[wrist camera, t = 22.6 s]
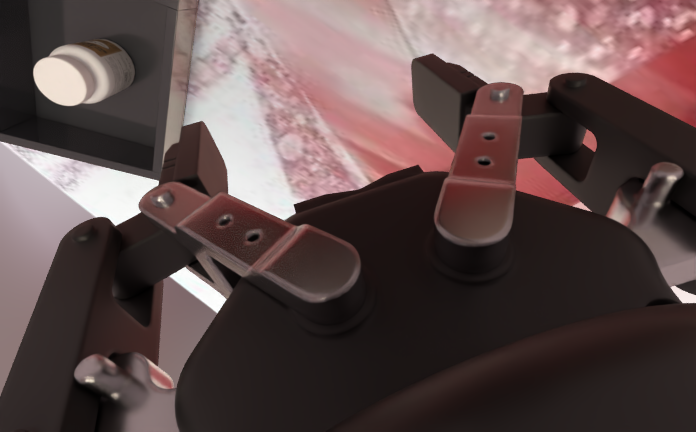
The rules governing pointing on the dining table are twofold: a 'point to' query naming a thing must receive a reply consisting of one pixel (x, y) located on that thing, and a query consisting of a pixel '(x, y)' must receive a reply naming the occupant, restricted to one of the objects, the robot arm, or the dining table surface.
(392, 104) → the dining table surface
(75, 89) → the pill bottle
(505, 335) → the robot arm
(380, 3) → the dining table surface
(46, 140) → the open box
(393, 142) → the dining table surface
